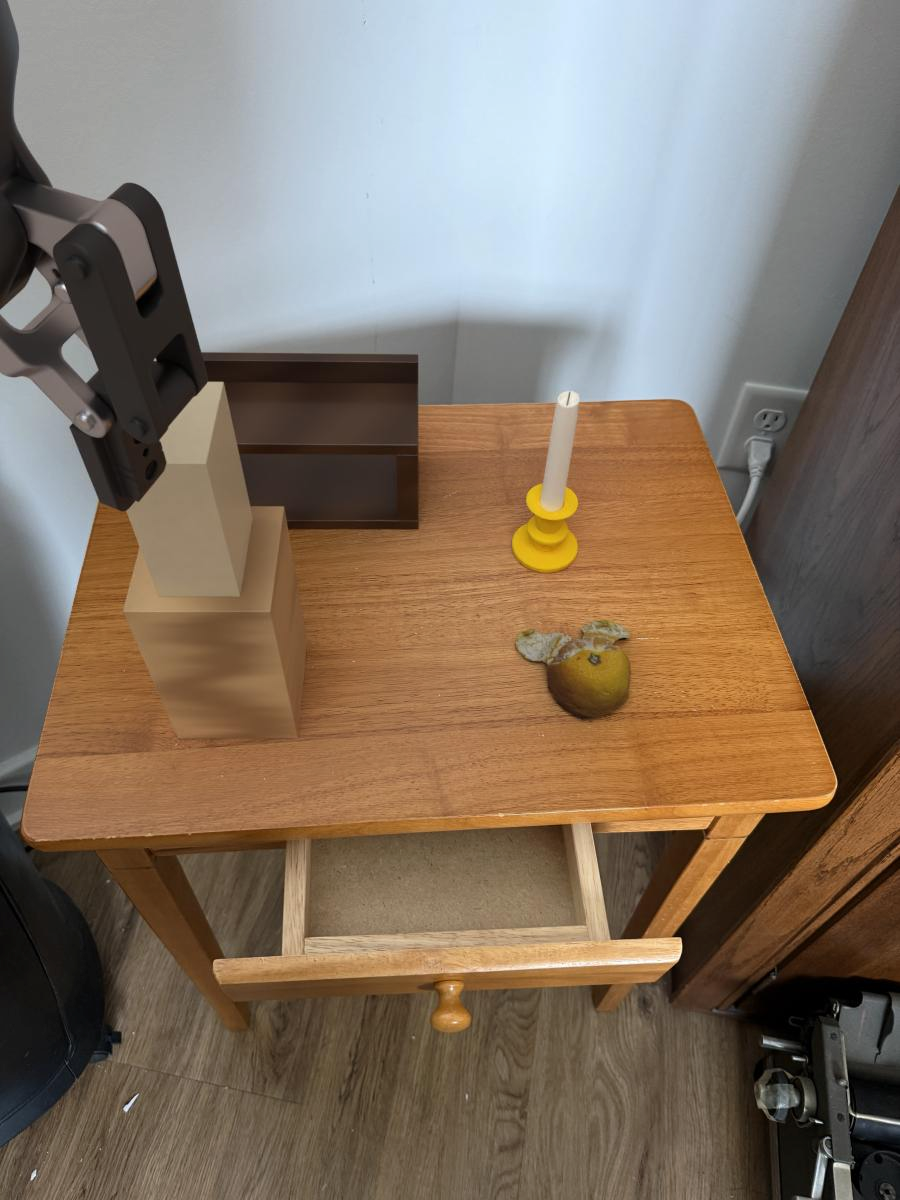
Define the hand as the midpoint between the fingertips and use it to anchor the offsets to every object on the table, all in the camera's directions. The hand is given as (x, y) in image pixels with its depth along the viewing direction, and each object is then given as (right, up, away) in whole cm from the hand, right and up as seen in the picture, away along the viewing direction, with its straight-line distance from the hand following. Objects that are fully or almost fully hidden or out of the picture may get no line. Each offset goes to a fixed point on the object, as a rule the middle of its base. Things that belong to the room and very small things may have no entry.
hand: (19, 443), depth 29 cm
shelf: (+2, +4, +45) cm, 45 cm away
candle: (+21, -1, +42) cm, 47 cm away
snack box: (0, -3, +22) cm, 22 cm away
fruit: (+24, -10, +35) cm, 44 cm away
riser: (0, -11, +33) cm, 35 cm away
